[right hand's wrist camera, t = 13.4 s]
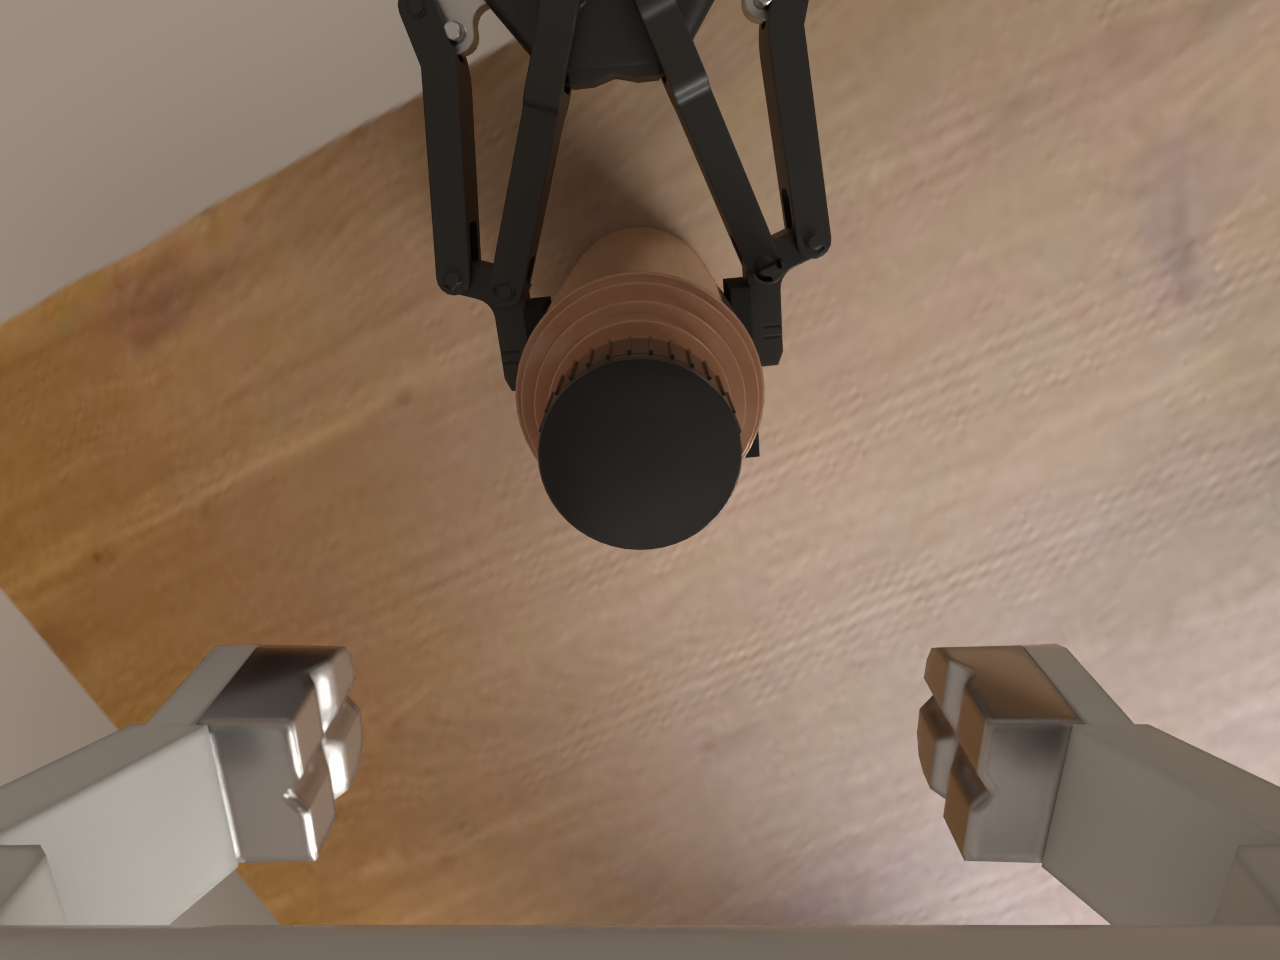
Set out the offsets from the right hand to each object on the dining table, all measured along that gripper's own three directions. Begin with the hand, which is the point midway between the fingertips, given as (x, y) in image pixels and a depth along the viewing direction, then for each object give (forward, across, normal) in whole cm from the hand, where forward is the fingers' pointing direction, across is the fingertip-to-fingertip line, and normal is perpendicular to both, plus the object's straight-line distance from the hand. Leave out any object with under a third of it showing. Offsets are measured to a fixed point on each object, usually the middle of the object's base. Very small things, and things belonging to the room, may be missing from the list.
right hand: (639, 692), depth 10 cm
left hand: (+23, 0, -5) cm, 24 cm away
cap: (+9, 0, 0) cm, 9 cm away
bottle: (+30, 0, 0) cm, 30 cm away
